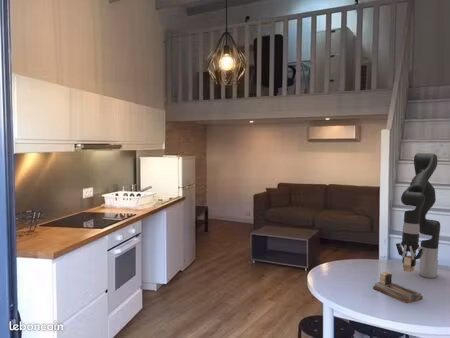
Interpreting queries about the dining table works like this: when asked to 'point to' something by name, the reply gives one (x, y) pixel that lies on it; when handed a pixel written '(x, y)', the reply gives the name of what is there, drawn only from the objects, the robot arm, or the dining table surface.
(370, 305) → the dining table surface
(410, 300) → the rail base
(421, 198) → the robot arm
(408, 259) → the maple finger
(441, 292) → the dining table surface
